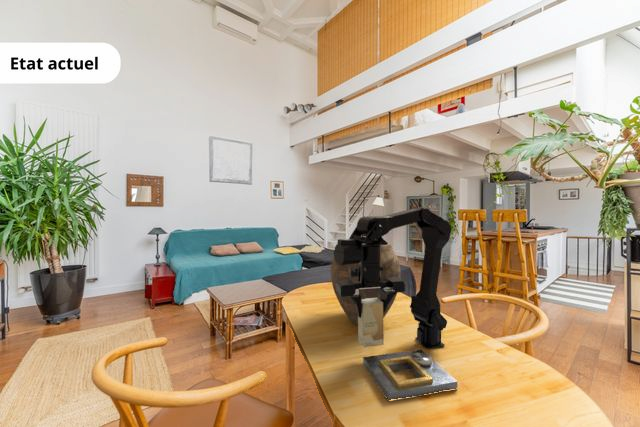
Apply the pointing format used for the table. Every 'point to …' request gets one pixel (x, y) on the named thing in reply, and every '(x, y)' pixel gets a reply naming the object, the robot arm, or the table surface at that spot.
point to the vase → (341, 273)
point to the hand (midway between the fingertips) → (370, 316)
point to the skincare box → (371, 323)
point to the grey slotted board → (420, 366)
